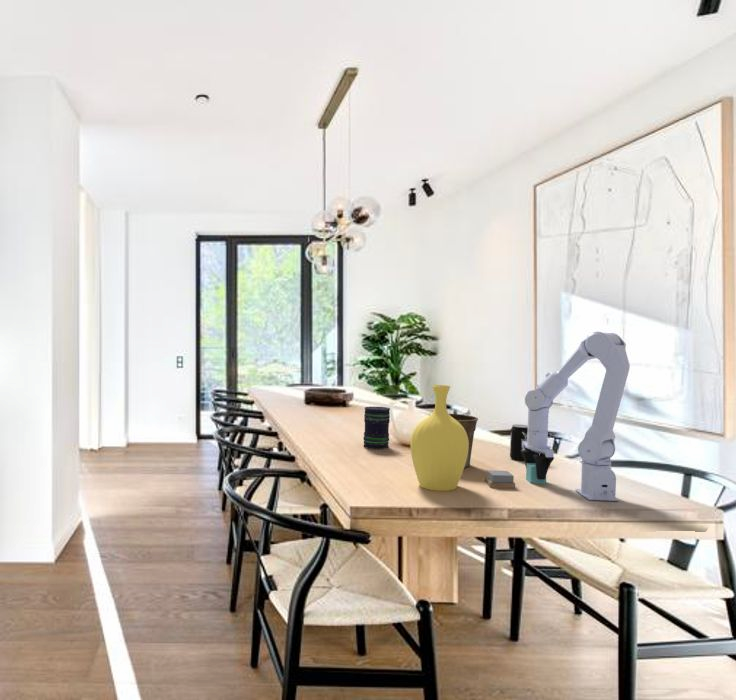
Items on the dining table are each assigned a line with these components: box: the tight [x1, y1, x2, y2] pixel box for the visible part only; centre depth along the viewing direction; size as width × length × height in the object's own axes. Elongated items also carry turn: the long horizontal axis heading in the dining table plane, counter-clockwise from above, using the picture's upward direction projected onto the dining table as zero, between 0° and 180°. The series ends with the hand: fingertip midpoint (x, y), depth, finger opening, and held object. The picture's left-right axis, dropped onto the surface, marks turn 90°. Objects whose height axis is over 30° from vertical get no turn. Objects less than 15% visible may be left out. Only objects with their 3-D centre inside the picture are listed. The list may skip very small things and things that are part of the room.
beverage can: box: [509, 424, 528, 462], centre depth 188 cm, size 7×7×12 cm
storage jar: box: [363, 406, 391, 450], centre depth 202 cm, size 10×10×15 cm
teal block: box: [525, 463, 547, 485], centre depth 156 cm, size 4×4×5 cm
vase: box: [410, 384, 469, 492], centre depth 147 cm, size 16×16×28 cm
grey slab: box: [486, 469, 515, 483], centre depth 151 cm, size 6×6×2 cm
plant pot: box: [429, 413, 479, 469], centre depth 175 cm, size 16×16×16 cm
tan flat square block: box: [484, 475, 516, 489], centre depth 151 cm, size 7×7×2 cm
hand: (536, 476), depth 156 cm, fingers closed on teal block, 5 cm apart
